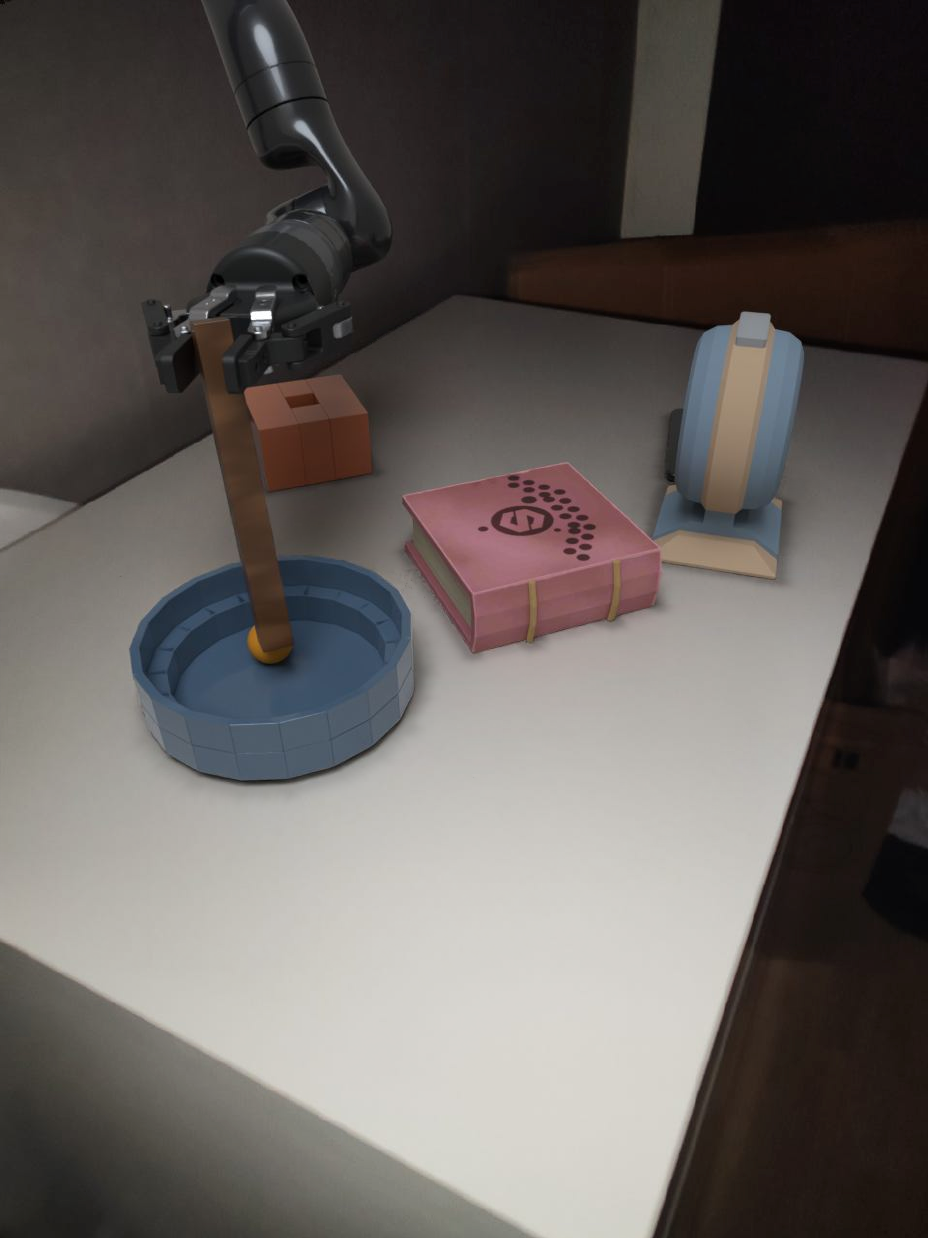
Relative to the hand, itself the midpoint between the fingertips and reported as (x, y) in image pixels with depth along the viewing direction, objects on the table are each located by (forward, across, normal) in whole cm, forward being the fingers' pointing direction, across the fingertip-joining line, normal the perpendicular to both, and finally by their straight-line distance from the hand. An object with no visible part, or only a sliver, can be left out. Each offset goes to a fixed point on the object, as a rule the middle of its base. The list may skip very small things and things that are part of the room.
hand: (200, 375), depth 49 cm
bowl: (+1, +2, +21) cm, 21 cm away
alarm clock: (-21, +33, +21) cm, 45 cm away
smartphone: (-36, +34, +20) cm, 54 cm away
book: (-13, +18, +21) cm, 30 cm away
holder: (-32, -4, +20) cm, 38 cm away
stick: (0, +2, +18) cm, 18 cm away
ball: (-1, +1, +19) cm, 19 cm away
